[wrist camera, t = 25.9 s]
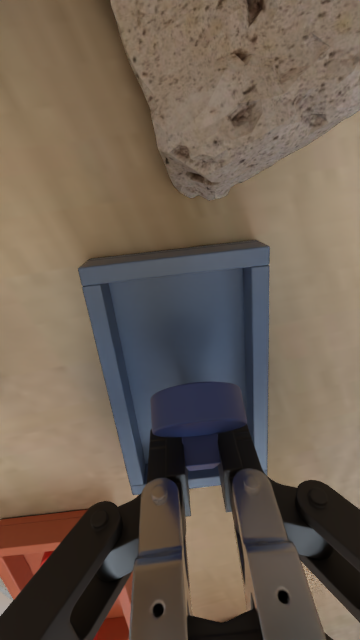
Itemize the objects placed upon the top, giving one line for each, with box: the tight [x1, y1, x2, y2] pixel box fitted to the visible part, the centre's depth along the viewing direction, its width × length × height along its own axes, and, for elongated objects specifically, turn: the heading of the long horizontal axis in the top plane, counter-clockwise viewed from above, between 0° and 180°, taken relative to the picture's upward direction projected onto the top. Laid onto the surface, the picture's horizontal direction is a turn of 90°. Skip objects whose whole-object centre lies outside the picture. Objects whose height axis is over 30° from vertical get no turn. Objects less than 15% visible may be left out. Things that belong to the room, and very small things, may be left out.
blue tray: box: [78, 240, 270, 495], centre depth 16 cm, size 14×8×2 cm, turn 6°
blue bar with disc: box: [150, 381, 247, 471], centre depth 13 cm, size 10×3×2 cm
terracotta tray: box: [0, 510, 133, 640], centre depth 22 cm, size 14×8×2 cm, turn 6°
